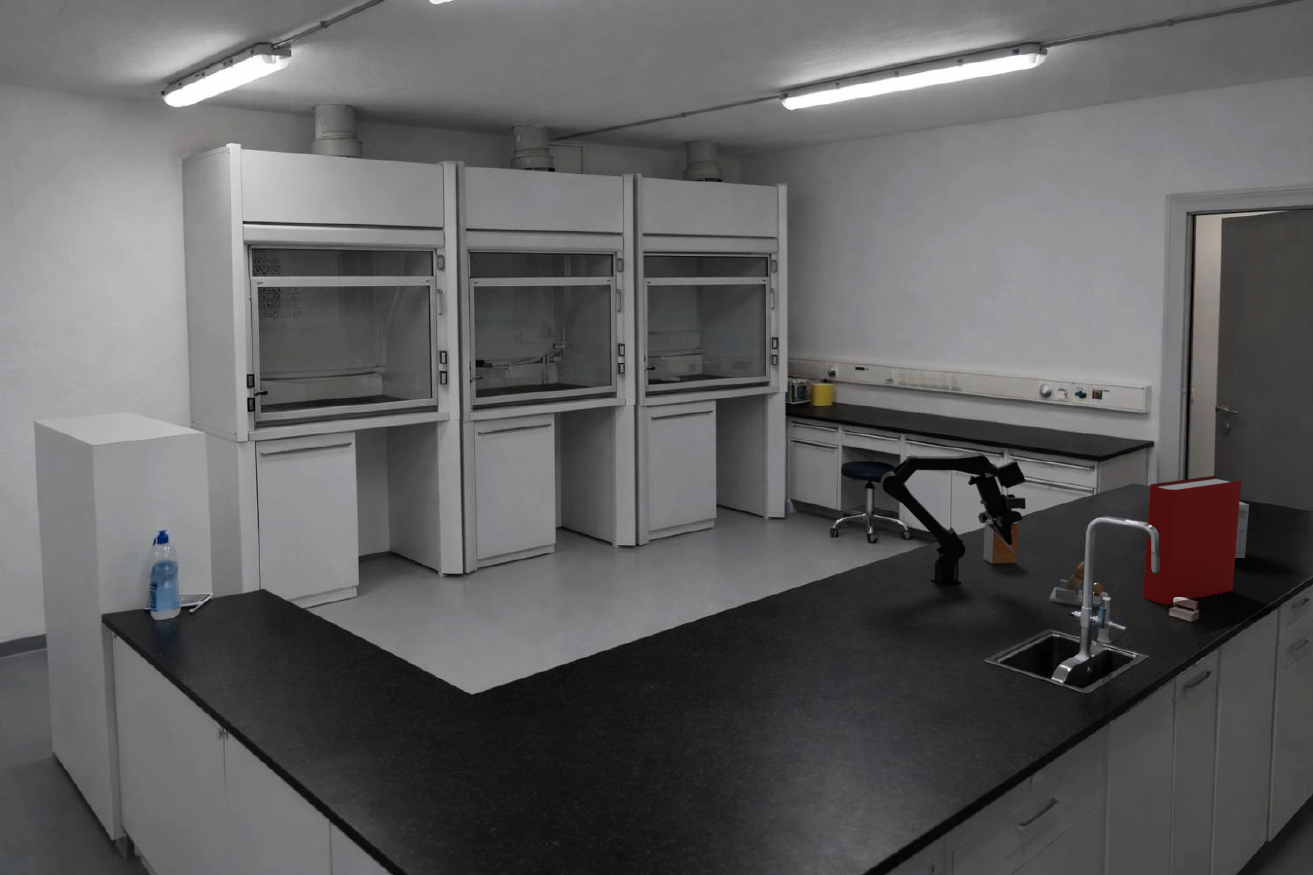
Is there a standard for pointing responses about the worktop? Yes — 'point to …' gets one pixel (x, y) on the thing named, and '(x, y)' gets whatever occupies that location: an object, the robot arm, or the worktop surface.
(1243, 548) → the supplement box
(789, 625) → the worktop surface
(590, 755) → the worktop surface
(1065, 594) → the nutcracker base
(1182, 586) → the book
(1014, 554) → the small box
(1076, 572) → the lever
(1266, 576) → the worktop surface
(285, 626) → the worktop surface
